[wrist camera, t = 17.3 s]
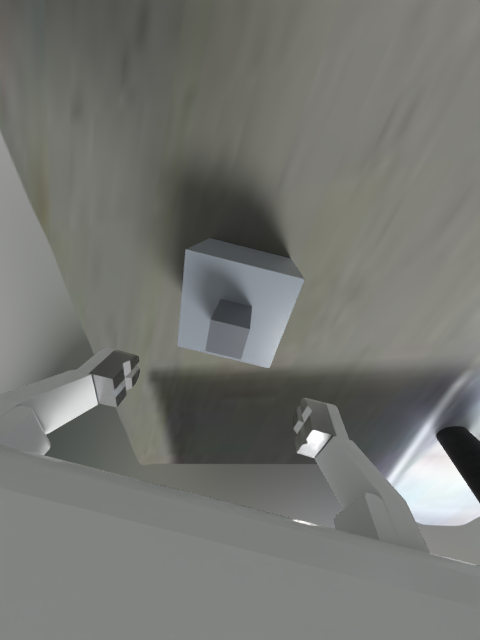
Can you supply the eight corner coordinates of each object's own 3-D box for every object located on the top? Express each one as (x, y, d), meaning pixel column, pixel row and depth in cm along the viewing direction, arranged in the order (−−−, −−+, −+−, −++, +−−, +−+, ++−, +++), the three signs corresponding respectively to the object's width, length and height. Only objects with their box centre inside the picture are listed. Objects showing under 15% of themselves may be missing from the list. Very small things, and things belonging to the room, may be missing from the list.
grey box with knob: (290, 258, 24) (316, 296, 13) (267, 327, 29) (270, 398, 18) (209, 238, 24) (164, 258, 13) (199, 310, 29) (160, 372, 18)
